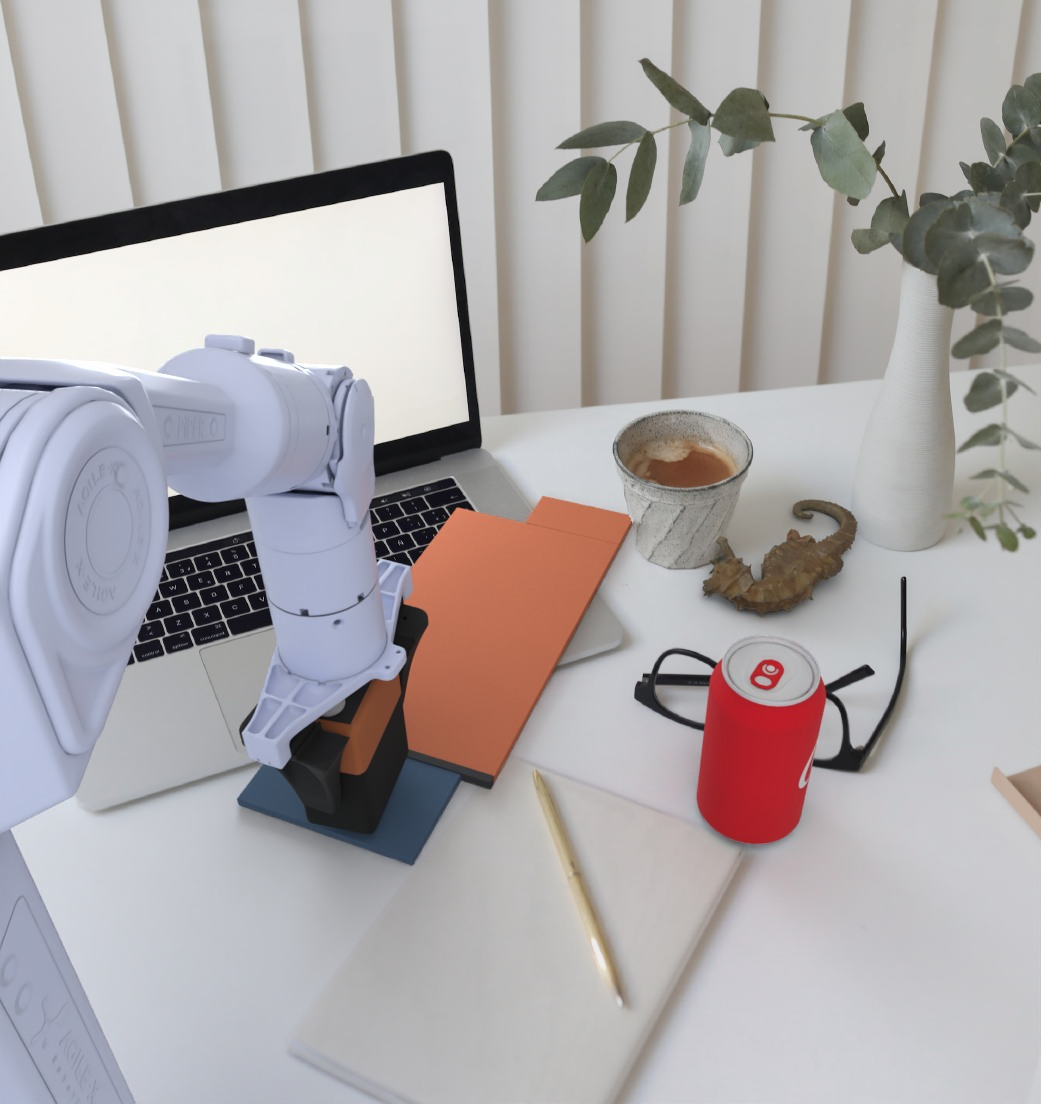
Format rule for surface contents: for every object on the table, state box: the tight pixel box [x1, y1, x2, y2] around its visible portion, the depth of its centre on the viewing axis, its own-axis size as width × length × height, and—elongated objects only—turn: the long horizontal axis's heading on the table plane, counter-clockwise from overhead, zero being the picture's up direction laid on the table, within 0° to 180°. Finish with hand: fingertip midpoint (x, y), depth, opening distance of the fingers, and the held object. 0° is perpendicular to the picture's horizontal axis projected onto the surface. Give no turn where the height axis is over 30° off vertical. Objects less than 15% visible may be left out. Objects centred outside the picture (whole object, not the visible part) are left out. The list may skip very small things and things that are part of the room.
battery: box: [304, 673, 409, 834], centre depth 62 cm, size 4×7×10 cm, turn 166°
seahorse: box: [702, 499, 859, 618], centre depth 81 cm, size 9×16×3 cm, turn 126°
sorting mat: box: [236, 495, 633, 866], centre depth 76 cm, size 36×14×1 cm, turn 158°
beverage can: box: [696, 634, 827, 845], centre depth 61 cm, size 6×6×12 cm
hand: (353, 756), depth 63 cm, fingers closed on battery, 7 cm apart
